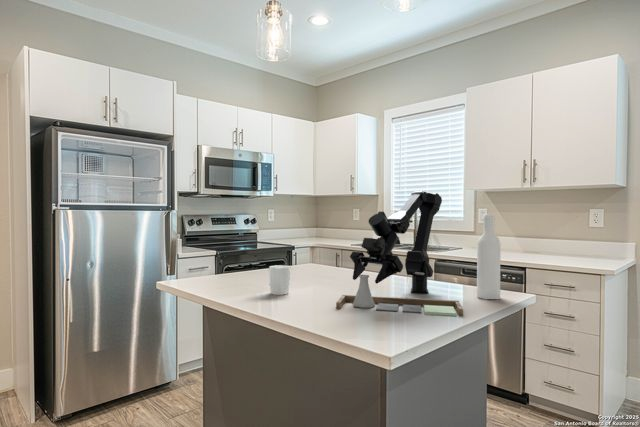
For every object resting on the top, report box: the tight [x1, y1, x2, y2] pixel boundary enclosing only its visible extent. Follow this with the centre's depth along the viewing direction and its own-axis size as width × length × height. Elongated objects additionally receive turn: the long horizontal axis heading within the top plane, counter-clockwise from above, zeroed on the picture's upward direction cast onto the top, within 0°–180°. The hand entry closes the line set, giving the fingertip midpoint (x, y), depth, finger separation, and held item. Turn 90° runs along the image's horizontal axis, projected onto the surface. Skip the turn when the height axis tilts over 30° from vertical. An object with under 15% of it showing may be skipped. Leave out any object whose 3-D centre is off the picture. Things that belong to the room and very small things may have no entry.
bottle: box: [476, 213, 501, 300], centre depth 148 cm, size 8×8×30 cm
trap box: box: [335, 294, 464, 317], centre depth 132 cm, size 12×38×2 cm, turn 77°
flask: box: [352, 274, 376, 309], centre depth 134 cm, size 7×7×10 cm
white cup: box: [268, 264, 291, 296], centre depth 154 cm, size 8×8×10 cm
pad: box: [423, 305, 457, 317], centre depth 127 cm, size 9×9×1 cm
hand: (364, 281), depth 134 cm, fingers open, 9 cm apart
